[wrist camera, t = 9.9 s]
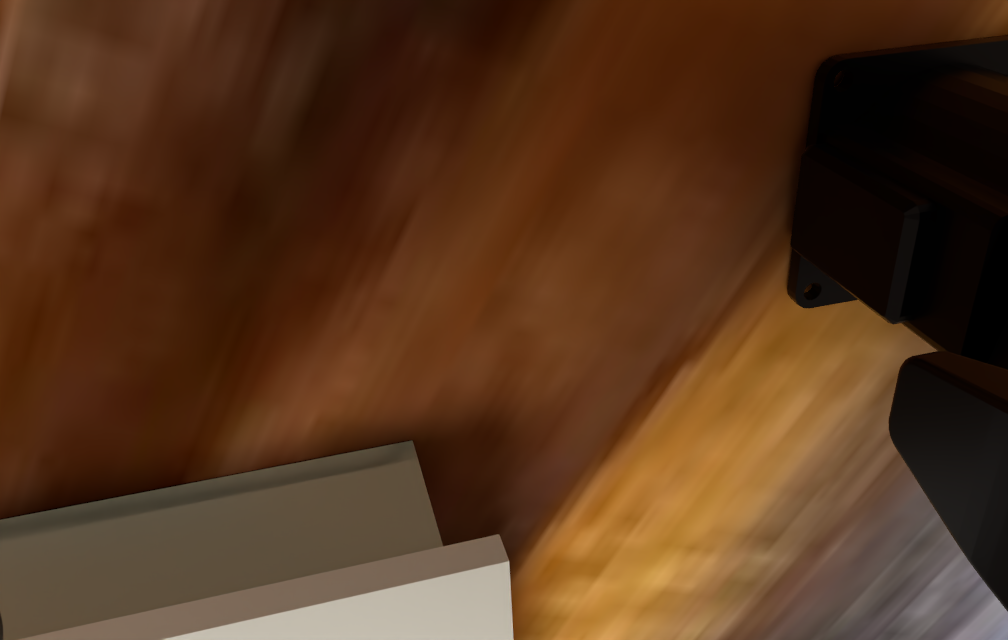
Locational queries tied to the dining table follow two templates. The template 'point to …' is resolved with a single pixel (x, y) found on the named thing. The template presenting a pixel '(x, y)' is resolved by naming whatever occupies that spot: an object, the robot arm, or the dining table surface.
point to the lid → (344, 604)
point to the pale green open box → (211, 538)
